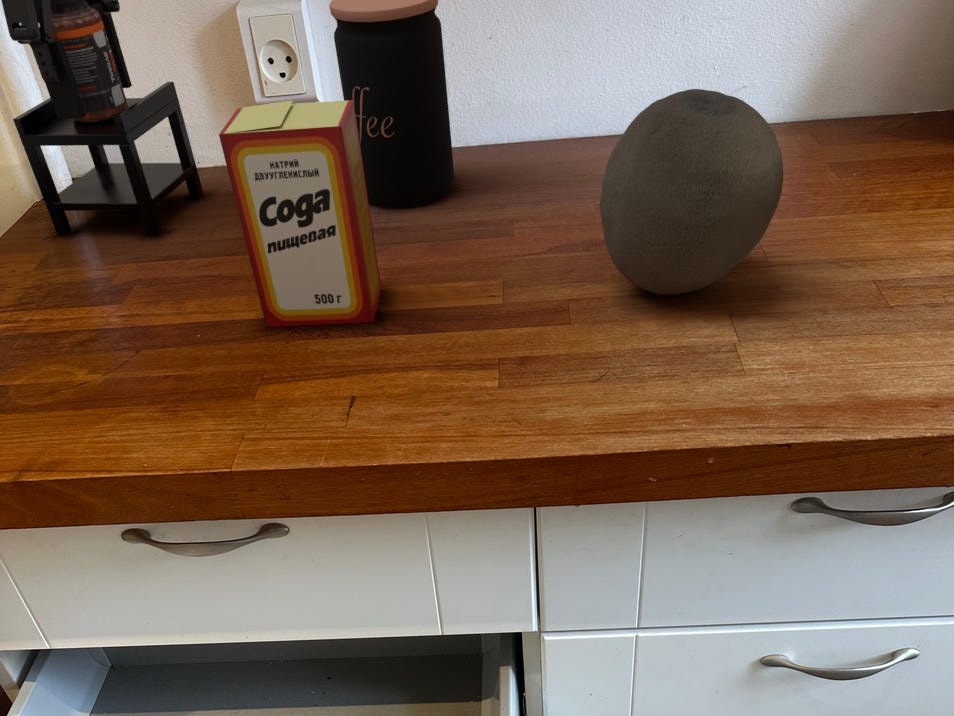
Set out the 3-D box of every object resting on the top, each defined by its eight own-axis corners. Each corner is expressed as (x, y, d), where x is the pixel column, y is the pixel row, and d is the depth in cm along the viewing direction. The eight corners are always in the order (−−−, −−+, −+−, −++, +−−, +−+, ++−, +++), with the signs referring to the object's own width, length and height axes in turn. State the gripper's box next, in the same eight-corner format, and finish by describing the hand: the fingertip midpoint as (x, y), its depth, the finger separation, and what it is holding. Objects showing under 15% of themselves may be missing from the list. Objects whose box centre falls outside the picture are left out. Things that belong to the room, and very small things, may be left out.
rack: (57, 235, 102) (12, 119, 94) (110, 193, 111) (73, 83, 103) (157, 236, 100) (120, 117, 92) (204, 194, 108) (173, 81, 100)
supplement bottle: (141, 112, 98) (102, -19, 90) (90, 128, 95) (45, -5, 87) (111, 103, 101) (71, -24, 93) (61, 119, 98) (15, -11, 90)
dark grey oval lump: (668, 340, 76) (682, 138, 66) (568, 281, 85) (566, 95, 75) (799, 290, 81) (833, 94, 70) (691, 239, 90) (706, 59, 79)
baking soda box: (381, 288, 87) (352, 94, 76) (372, 321, 82) (340, 120, 71) (280, 294, 88) (236, 103, 76) (266, 327, 83) (217, 128, 72)
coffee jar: (344, 188, 106) (313, -2, 93) (430, 166, 109) (411, -21, 96) (381, 218, 99) (352, 17, 86) (472, 193, 102) (457, -4, 89)
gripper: (-34, -177, 73) (74, 136, 89) (103, -202, 88) (175, 70, 104) (-116, -170, 75) (5, 137, 91) (32, -195, 90) (114, 71, 106)
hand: (96, 101), depth 97 cm, fingers open, 9 cm apart
